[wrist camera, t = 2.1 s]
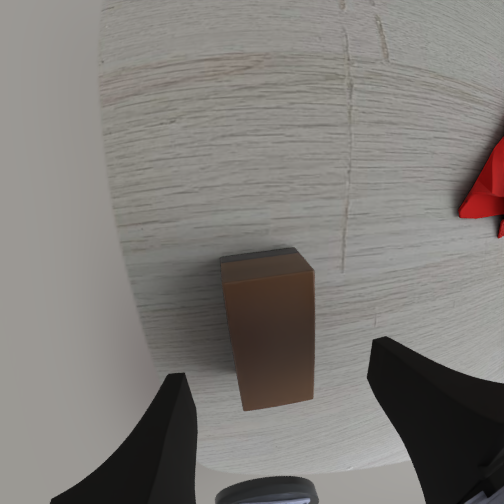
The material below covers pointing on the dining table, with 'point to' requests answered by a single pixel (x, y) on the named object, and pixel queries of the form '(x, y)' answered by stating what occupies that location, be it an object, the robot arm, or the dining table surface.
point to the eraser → (271, 326)
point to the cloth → (487, 190)
